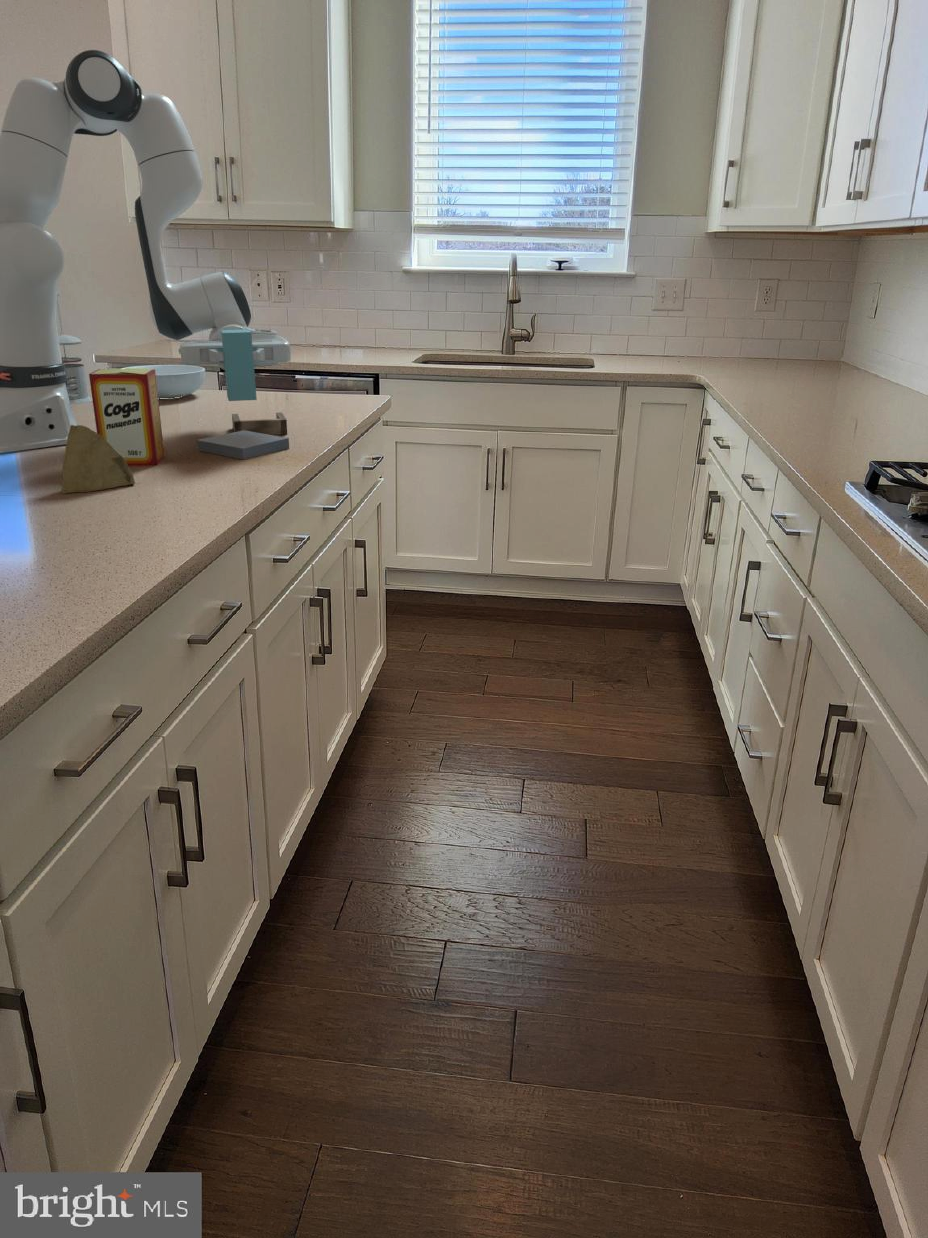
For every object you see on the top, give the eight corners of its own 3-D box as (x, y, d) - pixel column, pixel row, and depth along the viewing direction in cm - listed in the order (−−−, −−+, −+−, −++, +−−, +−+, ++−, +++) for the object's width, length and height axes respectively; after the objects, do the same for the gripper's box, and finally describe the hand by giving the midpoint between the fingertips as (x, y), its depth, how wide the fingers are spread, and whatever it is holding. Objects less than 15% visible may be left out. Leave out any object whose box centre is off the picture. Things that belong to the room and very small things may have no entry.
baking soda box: (101, 465, 158) (88, 371, 152) (110, 457, 164) (98, 366, 158) (157, 465, 159) (146, 372, 153) (164, 457, 165) (154, 366, 159)
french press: (78, 404, 214) (62, 292, 204) (34, 402, 216) (16, 290, 206) (101, 398, 223) (87, 290, 213) (59, 395, 225) (43, 288, 215)
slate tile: (243, 459, 165) (242, 448, 164) (197, 450, 171) (196, 439, 170) (289, 448, 174) (288, 438, 173) (244, 440, 180) (244, 430, 179)
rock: (145, 464, 150) (84, 455, 149) (135, 429, 143) (71, 419, 142) (126, 517, 145) (63, 507, 144) (115, 483, 137) (48, 473, 137)
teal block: (228, 400, 166) (222, 332, 161) (227, 396, 171) (221, 329, 166) (256, 399, 168) (251, 332, 163) (254, 395, 172) (248, 329, 167)
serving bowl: (219, 392, 235) (216, 364, 233) (189, 405, 216) (186, 375, 214) (141, 389, 237) (138, 362, 234) (105, 402, 218) (101, 372, 215)
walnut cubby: (235, 436, 184) (234, 421, 183) (232, 428, 191) (231, 413, 190) (287, 434, 187) (286, 419, 185) (282, 426, 194) (281, 412, 193)
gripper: (176, 332, 173) (177, 340, 161) (284, 330, 179) (293, 338, 167) (180, 366, 176) (181, 376, 164) (286, 363, 181) (295, 373, 169)
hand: (238, 357), depth 165 cm, fingers closed on teal block, 5 cm apart
